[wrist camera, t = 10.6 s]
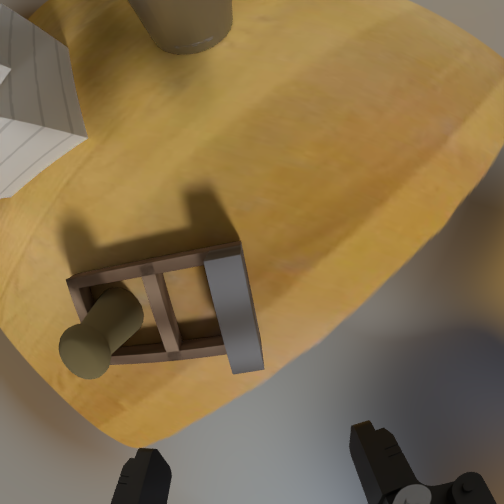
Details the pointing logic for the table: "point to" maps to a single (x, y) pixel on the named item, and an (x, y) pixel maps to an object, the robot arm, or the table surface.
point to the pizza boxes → (34, 102)
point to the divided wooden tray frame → (173, 347)
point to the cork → (101, 333)
